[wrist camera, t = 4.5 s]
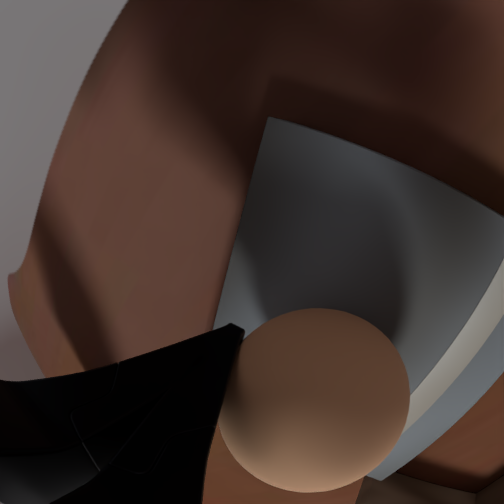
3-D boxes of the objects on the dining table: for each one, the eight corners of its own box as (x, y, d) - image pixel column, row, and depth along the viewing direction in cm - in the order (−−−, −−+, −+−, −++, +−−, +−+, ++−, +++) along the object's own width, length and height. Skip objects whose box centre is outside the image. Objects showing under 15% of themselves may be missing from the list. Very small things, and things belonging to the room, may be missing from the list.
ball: (205, 380, 10) (202, 513, 6) (238, 255, 8) (251, 431, 3) (333, 391, 11) (368, 502, 6) (396, 286, 9) (482, 409, 4)
